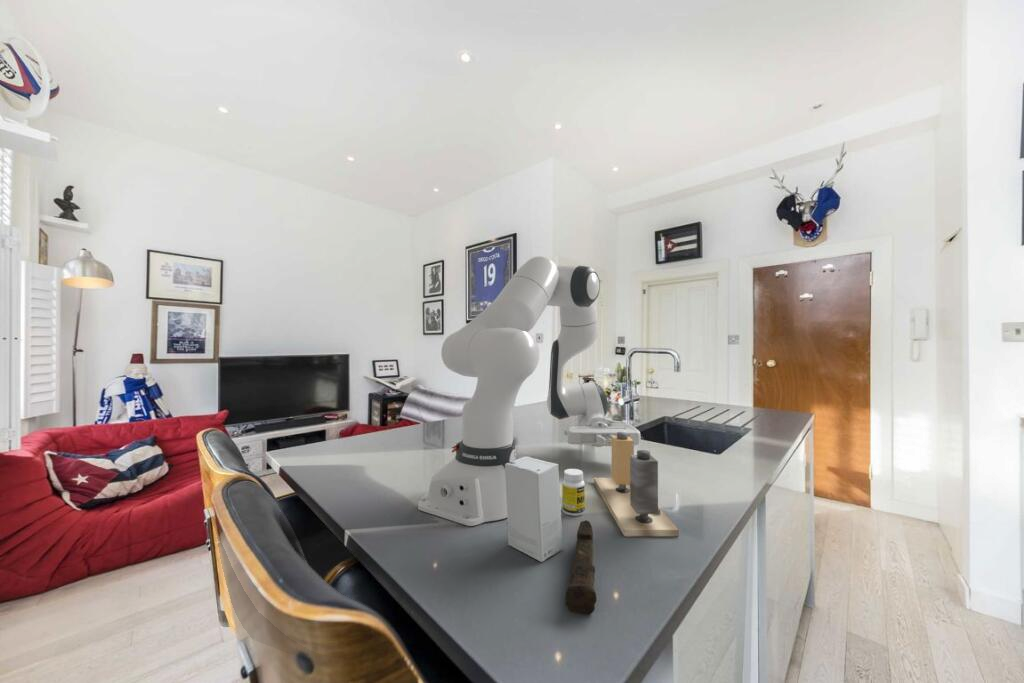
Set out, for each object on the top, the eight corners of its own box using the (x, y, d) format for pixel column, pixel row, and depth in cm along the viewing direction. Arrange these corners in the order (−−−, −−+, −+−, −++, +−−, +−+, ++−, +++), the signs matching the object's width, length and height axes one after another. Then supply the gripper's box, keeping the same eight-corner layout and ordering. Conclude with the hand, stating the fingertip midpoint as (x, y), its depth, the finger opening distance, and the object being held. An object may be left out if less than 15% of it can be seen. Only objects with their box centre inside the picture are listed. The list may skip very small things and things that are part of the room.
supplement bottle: (579, 518, 75) (579, 477, 75) (558, 513, 78) (558, 473, 78) (588, 509, 79) (588, 470, 79) (567, 504, 82) (567, 466, 82)
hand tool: (595, 620, 48) (596, 584, 48) (565, 613, 49) (565, 579, 49) (602, 543, 67) (602, 518, 67) (579, 540, 68) (579, 515, 68)
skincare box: (563, 550, 64) (562, 464, 64) (540, 565, 60) (539, 473, 60) (527, 532, 70) (527, 453, 70) (504, 544, 66) (504, 461, 66)
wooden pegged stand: (624, 536, 68) (624, 458, 68) (593, 482, 94) (593, 425, 94) (678, 536, 68) (678, 458, 68) (633, 482, 94) (632, 425, 94)
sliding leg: (616, 491, 84) (616, 435, 84) (611, 485, 88) (611, 431, 88) (633, 491, 84) (633, 435, 84) (628, 485, 88) (628, 431, 88)
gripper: (562, 419, 111) (569, 430, 97) (631, 420, 111) (647, 431, 97) (562, 441, 111) (569, 454, 97) (630, 441, 111) (647, 455, 97)
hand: (609, 443), depth 97 cm, fingers closed
